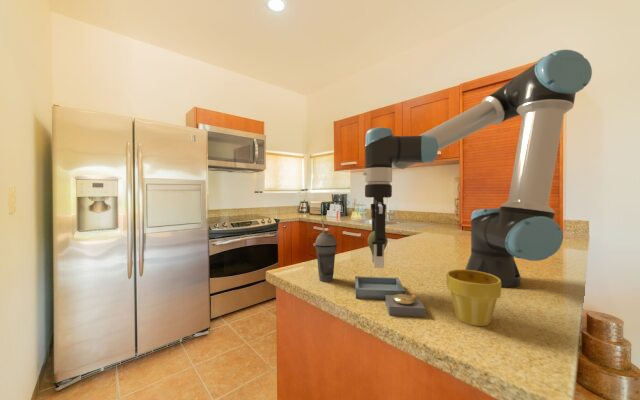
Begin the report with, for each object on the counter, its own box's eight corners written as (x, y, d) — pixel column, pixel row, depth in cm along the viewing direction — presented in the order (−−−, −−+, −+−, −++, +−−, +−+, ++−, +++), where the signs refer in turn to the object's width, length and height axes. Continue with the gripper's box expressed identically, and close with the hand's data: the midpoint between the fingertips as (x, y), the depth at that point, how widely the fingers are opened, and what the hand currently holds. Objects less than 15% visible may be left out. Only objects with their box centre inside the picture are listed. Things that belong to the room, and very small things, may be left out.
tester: (417, 304, 65) (417, 293, 65) (425, 317, 58) (425, 305, 58) (385, 302, 66) (385, 292, 66) (389, 315, 59) (389, 303, 59)
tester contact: (412, 296, 64) (412, 294, 64) (417, 305, 59) (417, 302, 59) (391, 296, 65) (391, 293, 65) (395, 304, 60) (395, 301, 60)
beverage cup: (335, 283, 80) (335, 220, 80) (312, 282, 82) (312, 220, 81) (338, 276, 87) (338, 218, 87) (317, 275, 89) (317, 218, 88)
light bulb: (389, 268, 71) (389, 232, 71) (369, 267, 71) (369, 231, 71) (384, 262, 76) (384, 229, 76) (365, 262, 76) (366, 229, 76)
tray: (398, 285, 78) (398, 277, 78) (405, 300, 67) (405, 291, 67) (355, 284, 80) (355, 276, 80) (355, 298, 69) (355, 289, 69)
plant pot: (479, 336, 50) (479, 286, 50) (436, 314, 60) (436, 272, 60) (511, 325, 54) (512, 279, 54) (467, 306, 64) (467, 267, 64)
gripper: (363, 185, 83) (363, 256, 83) (366, 182, 64) (366, 273, 65) (387, 185, 82) (386, 257, 82) (397, 182, 63) (396, 274, 64)
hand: (377, 264), depth 74 cm, fingers closed on light bulb, 6 cm apart
